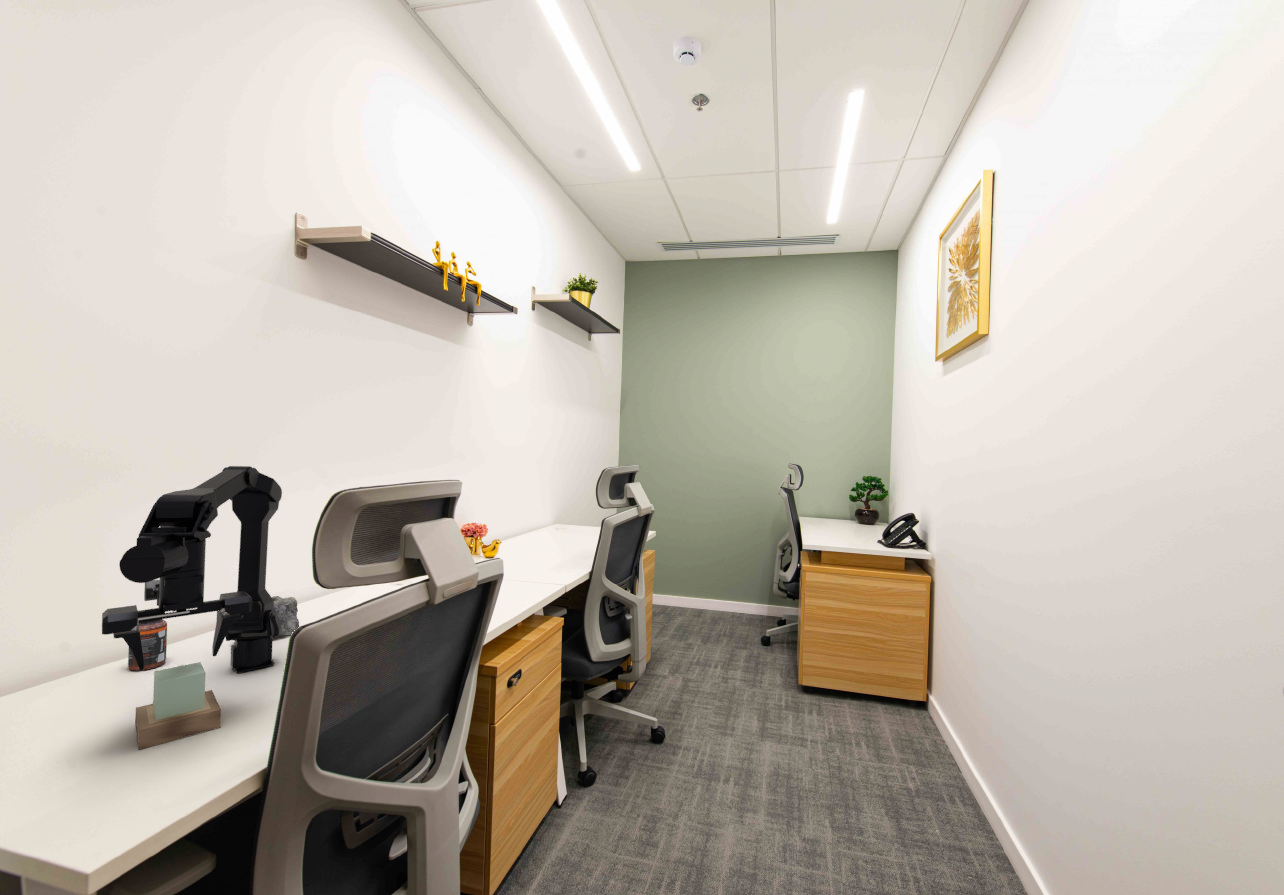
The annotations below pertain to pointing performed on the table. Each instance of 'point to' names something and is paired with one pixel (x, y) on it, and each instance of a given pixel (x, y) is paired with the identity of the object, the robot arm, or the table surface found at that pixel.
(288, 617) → the mineral rock
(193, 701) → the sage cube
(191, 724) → the walnut base
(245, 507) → the robot arm
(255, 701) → the table surface
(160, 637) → the supplement bottle
